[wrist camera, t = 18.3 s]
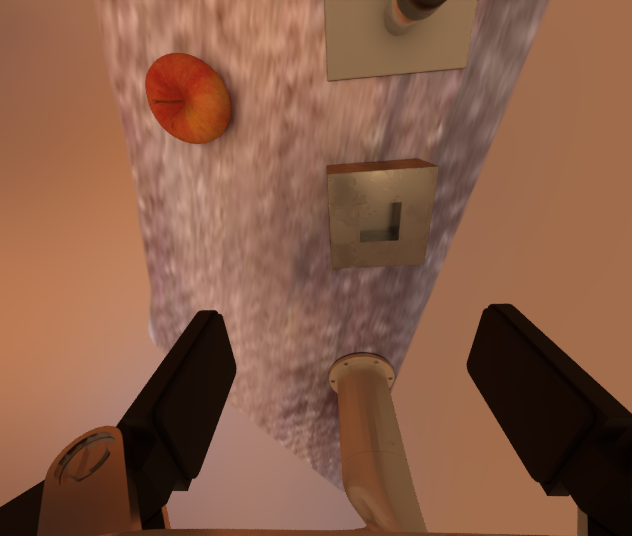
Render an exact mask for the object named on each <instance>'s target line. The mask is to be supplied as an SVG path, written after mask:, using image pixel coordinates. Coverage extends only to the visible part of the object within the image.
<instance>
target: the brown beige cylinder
mask: <svg viewBox="0 0 632 536" xmlns="http://www.w3.org/2000/svg"><path fill="white" fill-rule="evenodd" d="M446 1H447V0H389V2H388V4H387V6H386V8H385V12H384V24H385V27H386V29H387V31H388V32H389V33H390V34H391V35H394V36H401V35H403V34H405V33H406V32H408V31H409V30H410V29H411V28H412V27H413V26H414V25H415V23H416V22H417V21H420V20H423V19H426V18H428V17H429V16H431V15H432V14H433V13H434V12H435V11H436V10H437V9H438V8H439V7H440V6H441V5H442V4H443V3H445V2H446Z"/></svg>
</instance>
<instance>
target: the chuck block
mask: <svg viewBox="0 0 632 536" xmlns="http://www.w3.org/2000/svg"><path fill="white" fill-rule="evenodd" d="M438 170H439V166H436V165H434V164H431V163H428V162H426V161H423V160H420V159H405V160H391V161H378V162H365V163H351V164H338V165H327V182H328V202H329V222H330V243H331V259H332V269H341V268H361V267H380V266H399V265H419V264H424V261H425V255H426V248H427V242H428V235H429V229H430V222H431V216H432V209H433V203H434V196H435V190H436V183H437V177H438Z"/></svg>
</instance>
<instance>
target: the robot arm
mask: <svg viewBox="0 0 632 536" xmlns="http://www.w3.org/2000/svg"><path fill="white" fill-rule="evenodd" d="M467 370H468V372H469V374H470V376H471V378H472V380H473V381H474V383H475V384H476V386H477V388H478V390H479V391H480V393H481V394H482V396H483V397H484V399H485V401H486V403H487V404H488V406H489V408H490V409H491V411H492V413H493V414H494V416H495V418H496V419H497V421H498V423H499V424H500V426H501V428H502V429H503V431H504V433H505V434H506V436H507V438H508V439H509V441H510V443H511V444H512V446H513V448H514V449H515V451H516V453H517V454H518V456H519V458H520V459H521V461H522V463H523V464H524V466H525V468H526V469H527V471H528V473H529V474H530V476H531V477H532V478H533V479H534V480H535V481H536V482H539V483H540V485H541V486H542V488H543V489H544V491H545V492H546V494H547V496H569V495H571V497H572V498H573V500H574V501H575V503H576V504H577V506H578V525H577V527H578V528H577V530H578V531H577V535H578V536H632V414H631V413H630V412H629V411H628V410H627V409H626V408H625V407H624V406H623V405H622V404H620V403H619V402H618V401H617V400H616V399H615V398H614V397H613V396H612V395H611V394H610V393H608V392H607V391H606V390H605V389H604V388H603V387H602V386H601V385H600V384H599V383H597V382H596V381H595V380H594V379H593V378H592V377H591V376H590V375H589V374H588V373H587V372H585V371H584V370H583V369H582V368H581V367H580V366H579V365H578V364H577V363H576V362H575V361H573V360H572V359H571V358H570V357H569V356H568V355H567V354H566V353H565V352H564V351H562V350H561V349H560V348H559V347H558V346H557V345H556V344H555V343H554V342H553V341H551V340H550V339H549V338H548V337H547V336H546V335H545V334H544V333H543V332H542V331H540V330H539V329H538V328H537V327H536V326H535V325H534V324H533V323H532V322H531V321H529V320H528V319H527V318H526V317H525V316H524V315H523V314H522V313H521V312H520V311H519V310H518V309H516V308H515V307H514V306H513V305H511V304H491V305H489V306H488V308H486V309H484V311H483V313H482V316H481V319H480V322H479V326H478V329H477V332H476V335H475V338H474V341H473V345H472V348H471V351H470V354H469V357H468V361H467ZM235 375H236V363H235V359H234V356H233V352H232V348H231V345H230V341H229V337H228V334H227V330H226V327H225V323H224V319H223V316H222V315H221V314H218V312H217V311H216V310H202V311H198V312H197V314H196V315H195V316H194V318H193V319H192V321H191V322H190V323H189V325H188V326H187V328H186V329H185V330H184V332H183V333H182V335H181V336H180V337H179V339H178V340H177V342H176V343H175V345H174V346H173V347H172V349H171V350H170V352H169V353H168V354H167V356H166V357H165V358H164V360H163V361H162V363H161V364H160V366H159V367H158V368H157V370H156V371H155V373H154V374H153V375H152V377H151V378H150V380H149V381H148V382H147V384H146V385H145V387H144V388H143V389H142V391H141V392H140V394H139V395H138V396H137V398H136V399H135V401H134V402H133V403H132V405H131V406H130V408H129V409H128V410H127V412H126V413H125V415H124V416H123V418H122V419H121V420H120V422H119V423H118V425H117V426H116V427H114V426H103V427H98V428H95V429H93V430H91V431H88V432H86V433H85V434H83V435H82V436H80V437H78V438H77V439H75V440H74V441H73V442H71V443H70V444H69V445H68V446H67V447H65V449H63V450H62V452H61V453H60V454H59V455H58V456H57V457H56V458H55V460H54V461H53V463H52V464H51V466H50V467H49V469H48V472H47V475H46V478H45V480H43V481H42V482H40V483H39V484H37V485H35V486H34V487H32V488H30V489H29V490H27V491H26V492H24V493H22V494H21V495H19V496H18V497H16V498H14V499H13V500H11V501H10V502H8V503H6V504H5V505H3V506H1V507H0V536H544V535H508V534H469V533H428V532H427V529H426V526H425V523H424V520H423V517H422V513H421V510H420V507H419V503H418V500H417V496H416V492H415V489H414V485H413V481H412V477H411V473H410V469H409V465H408V462H407V458H406V455H405V450H404V446H403V442H402V438H401V434H400V430H399V426H398V422H397V418H396V414H395V410H394V406H393V402H392V398H391V394H390V390H389V388H390V387H391V386H392V384H393V382H394V371H393V368H392V366H391V365H390V363H389V362H388V361H386V360H385V359H384V358H382V357H380V356H377V355H374V354H368V353H358V354H352V355H348V356H346V357H343V358H341V359H340V360H338V361H337V362H336V363H335V364H333V366H332V367H331V369H330V371H329V383H330V386H331V387H332V389H333V390H334V391H335V392H336V393H338V409H339V429H340V448H341V465H342V480H343V485H344V489H345V492H346V495H347V497H348V499H349V501H350V502H351V504H352V505H353V507H354V508H355V510H356V511H357V513H358V514H359V515H360V517H361V518H362V519H363V521H364V522H365V523H366V525H367V526H366V527H364V528H359V529H355V530H332V531H331V530H267V529H266V530H265V529H171V527H170V522H169V518H168V512H167V508H166V504H167V502H168V500H169V497H170V495H171V493H172V491H188V489H189V486H190V483H191V481H192V479H195V478H196V477H197V476H198V474H199V472H200V470H201V467H202V464H203V462H204V459H205V456H206V454H207V451H208V448H209V446H210V443H211V440H212V437H213V435H214V432H215V429H216V426H217V424H218V421H219V418H220V416H221V413H222V410H223V408H224V405H225V402H226V400H227V397H228V394H229V391H230V389H231V386H232V383H233V381H234V378H235ZM545 536H546V535H545Z"/></svg>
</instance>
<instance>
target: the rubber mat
mask: <svg viewBox="0 0 632 536" xmlns="http://www.w3.org/2000/svg"><path fill="white" fill-rule="evenodd" d="M388 2H389V0H325V25H326V49H327V73H328V81H336V80H347V79H357V78H368V77H379V76H389V75H400V74H410V73H421V72H432V71H442V70H453V69H463V68H466V62H467V56H468V51H469V45H470V39H471V33H472V27H473V21H474V15H475V10H476V4H477V0H447V1H446V2H445V3H443V4H442V5H441V6H440V7H439V8H438V9H437V10H436V11H435V12H434V13H433V14H432V15H431V16H429V17H428V18H426V19H423V20H420V21H417V22H416V23H415V25H414V26H413V27H412V28H411V29H410V30H409V31H408V32H406V33H405V34H403V35H401V36H394V35H391V34H390V33H389V32H388V31H387V29H386V27H385V24H384V12H385V8H386V6H387V4H388Z"/></svg>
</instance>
